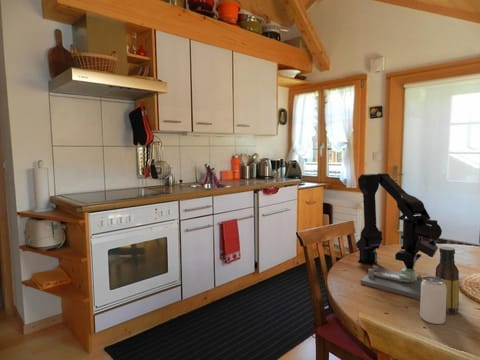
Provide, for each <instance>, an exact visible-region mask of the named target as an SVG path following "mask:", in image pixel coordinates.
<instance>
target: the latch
mask: <svg viewBox="0 0 480 360" xmlns="http://www.w3.org/2000/svg"><path fill="white" fill-rule="evenodd" d="M400 273H401V274H400V275H399V277H400V278H404V279H409V280H410V279H411V280H410V282H413V281H414V280H415V276H416V269H408V268H406V267H403V268H402V269H401V270H400Z"/></svg>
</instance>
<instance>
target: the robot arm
mask: <svg viewBox="0 0 480 360" xmlns="http://www.w3.org/2000/svg"><path fill="white" fill-rule="evenodd" d="M357 182H358V188H359V190H360V192H361V193H362V199H363V200H362V201H363V224H364V227H363V229H362V230H361V232H360V239H358V241H356V243H355V246H356V248H357V249H359V253H358V254H359V259H358V260H357V262H358V263H362V264H367V265H371V266H373V265H375V263H377V262H378V252H377V250H378V249H380V246H381V244H382V241H383V232H382V230H379V228H378V227H377V209H376V208H377V207H376V205H377V204H376V193H377V192H378V190H379V186H381V187H382V188H383V189H384V190H385V192H386V193H388V195H390V196H391V197H392V198H393V200H394V201H395V202H396V205H397V206H396V207H397V208H398V210H399V211H400V213H401V215H400V216H399V217H398V220H400V221H402V235H401V238H400V239H402V245H401V246H400V250H398V252H396V253H395V254H394V257H395V261H400V262H403V263H404V266H405V268H408V269H413V270H415V265H416V263H417V261H418V260H419V259H420V258H421V257H422V254H424V255H426V256H427V257H430V258H434V256H435V255H436V253H437V250H438V249H439V246H438V245H437V242H436V240H439V239H440V238H441V236H442V235H443V234H442V231H443V229H442V228H441V226H440V224H438V220H437V219H431V217H430V214H429V213H428V211H427V209H426V207H425V204H424V203H423V201H422V200H421V199H419V198H417V197H416V196H413V195H411V194H409V193H407V192H406V191H405V190H404V189H403V188H402V187H401V186H400V185H399V184H398V183H397V182H396V181H395V180H394V179H393V178H392V177H391V176H390V174H389V173H387V172H382V173H368V174H367V173H366V174H364V173H363V174H361V175H359V177H358V179H357ZM423 238H425V239H429V241H428V240H423ZM419 252H420V253H419ZM421 253H422V254H421Z"/></svg>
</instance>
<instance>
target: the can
mask: <svg viewBox="0 0 480 360" xmlns="http://www.w3.org/2000/svg"><path fill="white" fill-rule="evenodd" d="M422 278H423V281H422V282H421V300H420V304H419V306H420V307H419V312H420V313H419V315H420V318H421V319H422V320H423V321H424V322H426V323H428V324H432V325H442V324H445V322H446V316H447V313H446V294H447V287H446V285H445V281H444V280H442V279H440V278H437V277H435V276H424V277H422Z"/></svg>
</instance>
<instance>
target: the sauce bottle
mask: <svg viewBox="0 0 480 360" xmlns="http://www.w3.org/2000/svg"><path fill="white" fill-rule="evenodd" d="M438 249H439V254H440V255H439V263H438V264H437V266H436V267H435V276H434V277H437V278H440V279H442V280H444V281H445V285H446V287H447V294H446V315H447V314H448V315H456V314H457V313H458V312H459V306H460V275H459V274H460V273H459V272H460V271H459V269H458V267H457V266H456V264H455V262H456V261H455V254H456V249H455V248H454V247H452V246H447V245H446V246H445V245H443V246H440V247H439V248H438Z"/></svg>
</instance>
